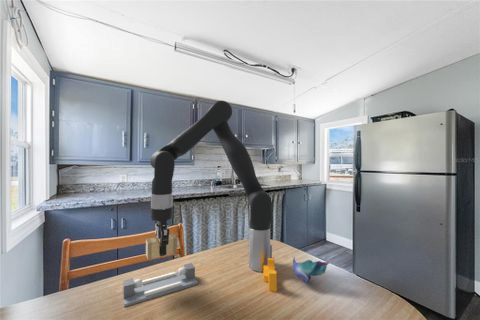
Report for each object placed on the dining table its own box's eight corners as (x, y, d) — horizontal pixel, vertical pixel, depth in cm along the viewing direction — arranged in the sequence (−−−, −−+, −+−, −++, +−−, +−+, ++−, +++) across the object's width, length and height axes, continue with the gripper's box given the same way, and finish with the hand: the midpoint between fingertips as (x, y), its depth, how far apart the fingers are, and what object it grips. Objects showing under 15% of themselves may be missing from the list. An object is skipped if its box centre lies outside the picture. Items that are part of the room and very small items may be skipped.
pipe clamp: (263, 273, 86) (263, 257, 86) (274, 273, 86) (274, 257, 86) (264, 291, 74) (264, 273, 74) (276, 292, 74) (276, 273, 74)
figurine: (332, 284, 78) (332, 260, 78) (315, 297, 71) (315, 270, 71) (302, 270, 88) (302, 249, 88) (284, 279, 81) (284, 256, 81)
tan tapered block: (147, 259, 71) (147, 243, 71) (145, 254, 75) (145, 238, 75) (176, 253, 77) (177, 237, 77) (173, 248, 81) (174, 233, 81)
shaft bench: (189, 271, 86) (189, 259, 86) (197, 284, 78) (197, 270, 78) (122, 290, 74) (123, 276, 74) (124, 307, 65) (124, 291, 65)
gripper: (148, 203, 80) (147, 247, 80) (154, 211, 68) (153, 263, 68) (168, 201, 84) (167, 243, 84) (177, 208, 72) (177, 258, 72)
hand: (161, 252), depth 76 cm, fingers closed on tan tapered block, 4 cm apart
